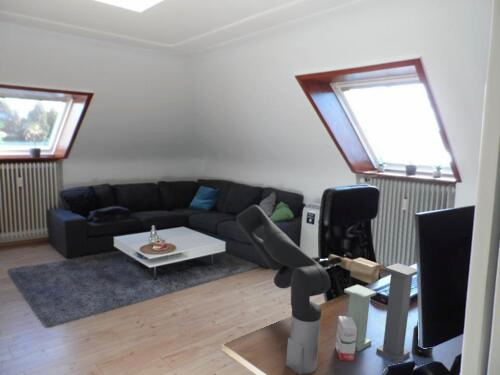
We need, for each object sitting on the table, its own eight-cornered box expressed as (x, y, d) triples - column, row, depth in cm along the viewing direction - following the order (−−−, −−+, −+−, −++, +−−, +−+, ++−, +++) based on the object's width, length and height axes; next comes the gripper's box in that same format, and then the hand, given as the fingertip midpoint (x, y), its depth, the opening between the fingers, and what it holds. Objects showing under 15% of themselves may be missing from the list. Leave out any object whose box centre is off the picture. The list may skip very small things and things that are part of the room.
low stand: (358, 351, 136) (363, 297, 133) (339, 341, 142) (344, 289, 139) (371, 344, 142) (376, 292, 139) (352, 334, 148) (357, 284, 145)
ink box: (354, 361, 131) (357, 328, 129) (339, 360, 131) (342, 327, 129) (349, 347, 139) (352, 316, 137) (335, 346, 139) (337, 315, 137)
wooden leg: (369, 283, 133) (371, 266, 132) (325, 266, 147) (327, 251, 146) (378, 280, 136) (379, 264, 135) (334, 264, 150) (335, 249, 150)
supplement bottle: (414, 345, 143) (418, 314, 141) (434, 352, 138) (438, 320, 136) (408, 352, 137) (412, 320, 135) (429, 360, 133) (433, 327, 131)
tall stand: (397, 363, 131) (407, 274, 126) (376, 352, 137) (385, 267, 132) (409, 355, 136) (419, 270, 131) (388, 344, 142) (397, 263, 137)
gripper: (295, 262, 153) (327, 251, 140) (319, 256, 162) (351, 245, 149) (301, 281, 151) (334, 272, 139) (325, 274, 160) (358, 264, 148)
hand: (343, 258), depth 144 cm, fingers closed on wooden leg, 3 cm apart
